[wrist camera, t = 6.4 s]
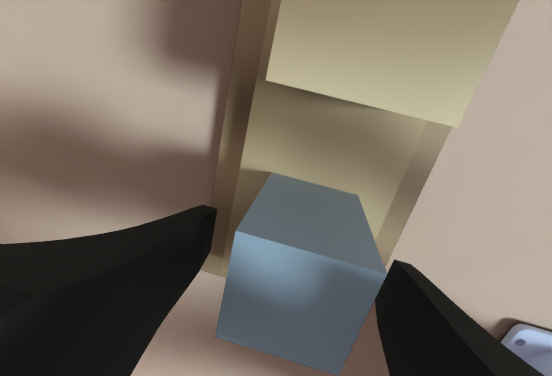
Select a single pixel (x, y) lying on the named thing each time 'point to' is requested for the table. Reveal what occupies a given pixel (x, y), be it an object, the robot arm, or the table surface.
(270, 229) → the slate block
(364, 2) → the brass block
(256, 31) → the plinth
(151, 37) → the table surface
